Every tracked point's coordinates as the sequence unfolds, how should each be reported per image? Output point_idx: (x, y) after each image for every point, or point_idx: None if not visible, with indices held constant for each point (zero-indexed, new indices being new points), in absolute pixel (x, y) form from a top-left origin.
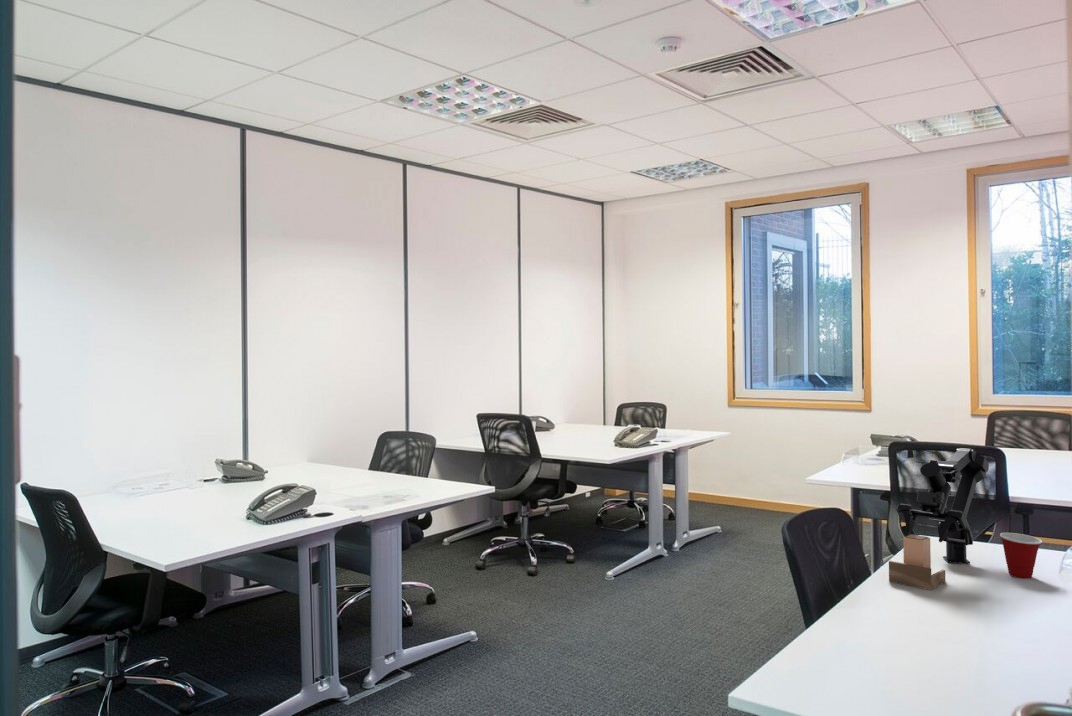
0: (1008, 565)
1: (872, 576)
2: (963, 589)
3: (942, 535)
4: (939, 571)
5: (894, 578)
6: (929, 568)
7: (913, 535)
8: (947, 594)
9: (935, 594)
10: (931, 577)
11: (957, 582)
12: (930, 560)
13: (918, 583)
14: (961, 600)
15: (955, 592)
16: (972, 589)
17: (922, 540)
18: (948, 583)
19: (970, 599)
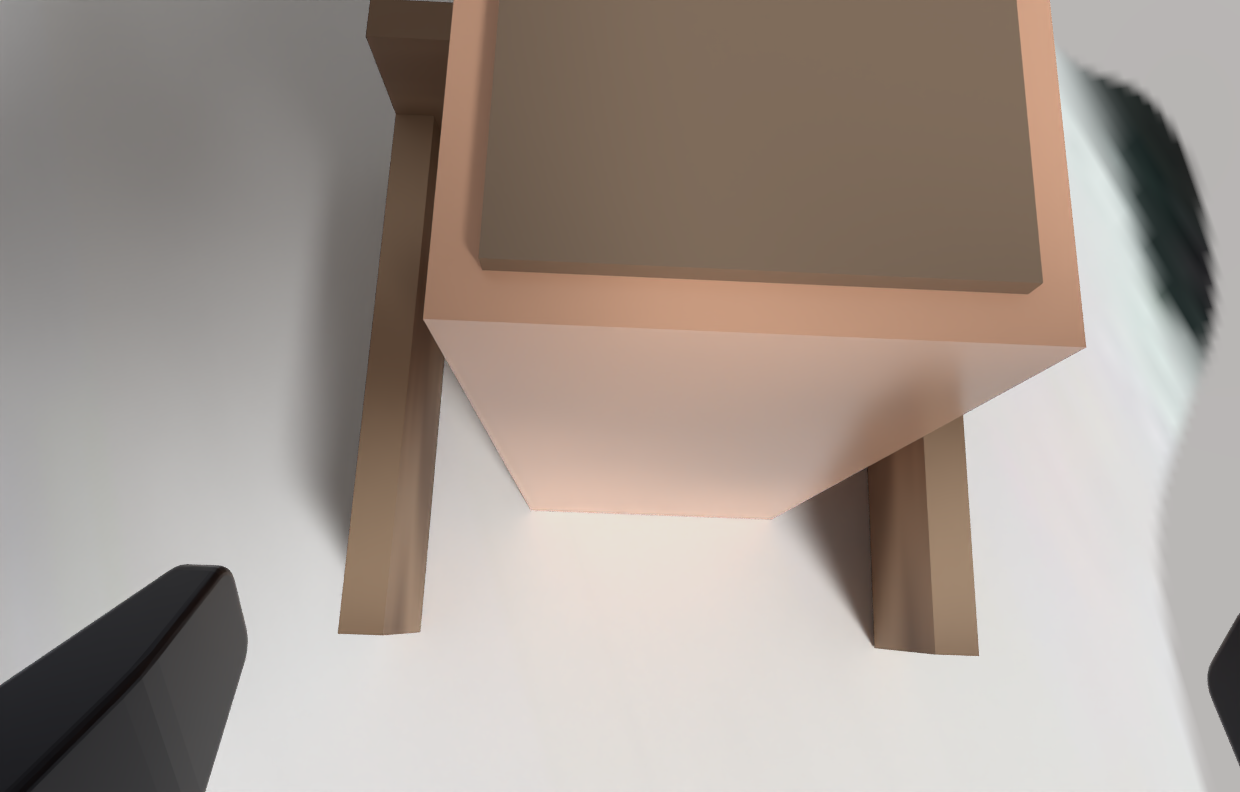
0: None
1: (1114, 262)
2: (130, 441)
3: (12, 682)
4: (386, 475)
5: None
6: (387, 19)
7: (921, 149)
8: (245, 134)
9: (347, 58)
10: (396, 117)
11: (251, 719)
12: (504, 459)
13: None
14: (84, 29)
15: (187, 260)
16: (36, 516)
17: None
18: (335, 584)
19: (8, 116)
